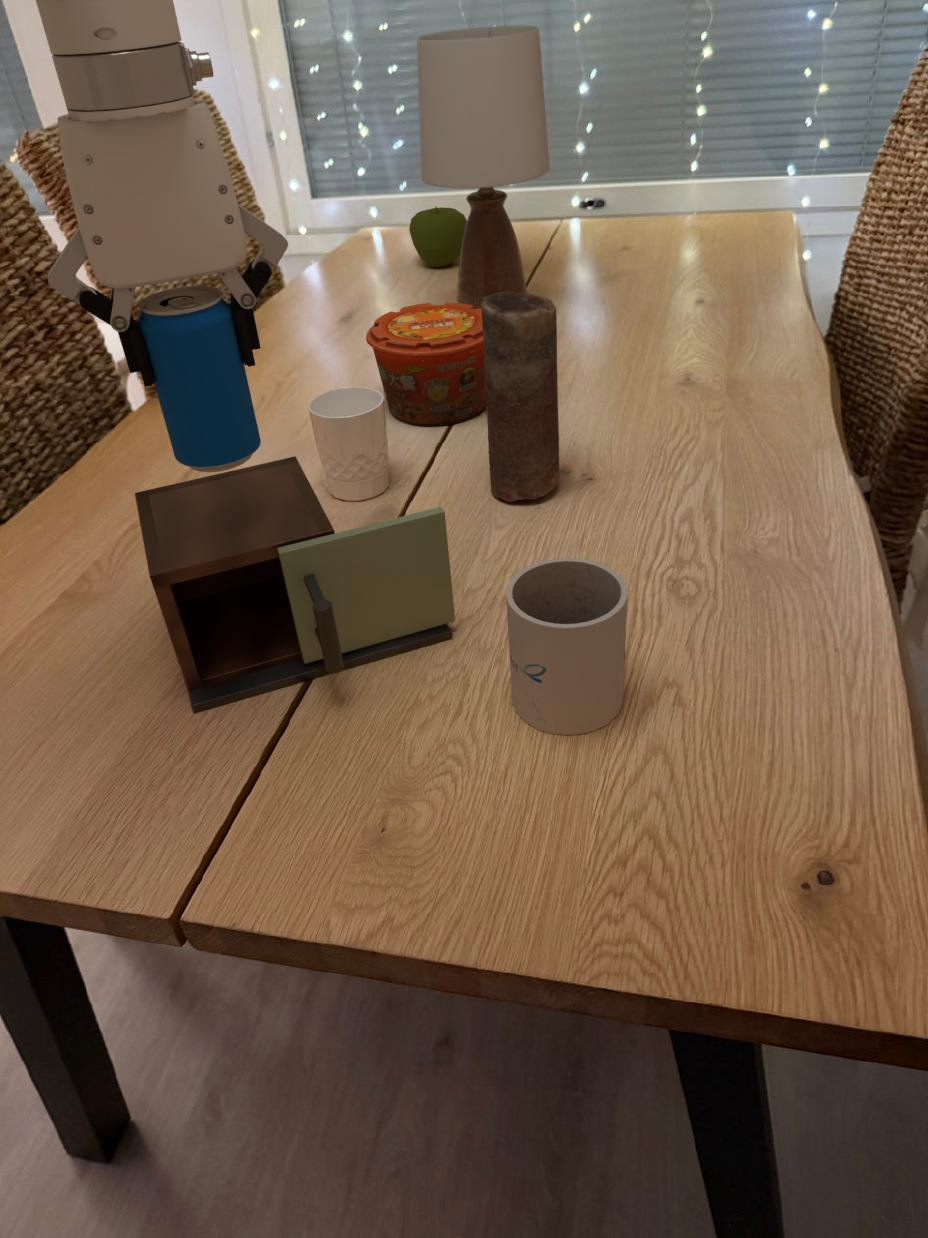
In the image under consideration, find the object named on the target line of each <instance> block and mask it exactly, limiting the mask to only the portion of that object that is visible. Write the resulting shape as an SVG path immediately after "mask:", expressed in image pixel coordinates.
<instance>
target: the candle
mask: <svg viewBox="0 0 928 1238" xmlns="http://www.w3.org/2000/svg"><path fill="white" fill-rule="evenodd" d="M481 309H482V327H483V342H484V364H485V382H486V403H487V407H486V421H487V440H488V463H489V479H490V492H491V495H493V497H495V498H498V499H501V500H503V501H505V502H509V503H511V502H516V501H518V500H519V501H522V500H537V499H539V498H541V497H544V496H546V495H547V494H548V493H550V492H552V491H553V490H554V488H556V487H555V486H556V485H557V484H558V482H559V481H560V432H559V431H560V429H559V428H560V427H559V425H560V423H559V401H558V400H559V387H558V327H557V326H558V323H557V321H558V319H557V318H558V317H557V308H556V306H555V303H554V302H553V300H551V299H550V298H548V297H547V296H544V295H534V294H529V293H527V294H520V293H514V292H500V293H497V294H493V295H490V296H487V297H484V298H483V301H482V304H481Z"/></svg>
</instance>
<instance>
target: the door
mask: <svg viewBox="0 0 928 1238" xmlns="http://www.w3.org/2000/svg"><path fill="white" fill-rule="evenodd" d="M447 534H448V532H447V521H446V512H445V511H444V509H443V508H442V507H441V506H439V507H433V508H430V509H426V510H422V511H419V512H415V513H410V514H407V515H403V516H398V517H395V518H391V519H388V520H387V519H386V520H382V521H378V522H375V523H371V524H368V525H367V524H366V525H363V526H359V527H355V528H350V529H347V530H343V531H340V532H339V531H338V532H336V533H335V534H331V535H327V536H323V537H319V538H315V539H311V540H307V541H303V542H299V543H295V544H291V545H287V546H283V547H279V548H277V550H278V554H279V558H280V563H281V567H282V571H283V576H284V580H285V585H286V589H287V593H288V598H289V602H290V606H291V611H292V615H293V619H294V624H295V628H296V633H297V637H298V641H299V646H300V650H301V654H302V658H303V661H304V663H305V664H307V663H310V662H314V661H317V660H321V659H324V663H325V668H326V671H327V672H329V673H330V674H337V673H340V672H342V671H343V670H342V669H343V667H344V664H343V659H342V653H345V652H349V651H352V650H356V649H359V648H363V647H366V646H370V645H373V644H377V643H380V642H384V641H387V640H391V639H394V638H398V637H401V636H405V635H408V634H412V633H415V632H419V631H422V630H426V629H429V628H433V627H437V626H440V625H444V624H450V623H453V622H456V616H455V604H454V603H455V602H454V594H453V583H452V574H451V573H452V572H451V563H450V554H449V543H448V535H447Z"/></svg>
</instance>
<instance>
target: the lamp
mask: <svg viewBox="0 0 928 1238" xmlns="http://www.w3.org/2000/svg"><path fill="white" fill-rule="evenodd" d="M540 37H541V36H540V27H538V26H537V25H528V24H527V25H526V24H525V25H524V24H520V25H519V24H518V25H517V24H514V25H494V26H493V25H492V26H478V27H468V28H467V27H466V28H459V29H451V30H444V31H438V32H437V31H435V32H432V33H426V34H422V35H419V36H418V37H416V48H417V49H416V52H417V53H416V54H417V76H418V77H417V79H418V80H417V82H418V111H419V112H418V113H419V114H418V115H419V137H420V138H419V140H420V142H419V143H420V162H421V163H420V169H421V170H420V171H421V172H420V173H421V180H422V182H423V183H425V184H427V185H429V186H433V187H437V188H447V189H477V190H476V191H473V192H471V193H469V194H467V196H466V198H465V200H466V201H467V203H468V205H469V207H470V212H469V214H468V217H467V219H466V220H467V223H466V226H465V230H464V234H463V238H462V244H461V251H460V257H459V262H458V273H457V274H458V275H457V279H458V280H457V286H456V287H457V297H456V298H457V299H456V303H463V304H469V305H472V306H473V308H474V309H479V308H481V304H482V301H483V298H484V297H487V296H490V295H493V294H497V293H500V292H514V293H520V294H528V290H527V283H526V276H525V273H524V266H523V262H522V261H523V260H522V255H521V250H520V246H519V245H520V244H519V242H518V239H517V235H516V231H515V229H514V226H513V224H512V221H511V219H510V216H509V214H508V212H507V210H506V208H505V202H506V201H507V198H508V194H507V193H506V192H505V191H503V190H499V189H495V188H496V187H504V186H510V185H516V184H521V183H526V182H529V181H533V180H535V179H538V178H541V177H543V176H544V175H546V174H547V173H548V172H549V171H550V156H549V155H550V153H549V141H548V128H547V116H546V114H547V113H546V102H545V101H546V100H545V89H544V76H543V63H542V50H541V38H540Z"/></svg>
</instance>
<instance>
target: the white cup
mask: <svg viewBox="0 0 928 1238" xmlns="http://www.w3.org/2000/svg"><path fill="white" fill-rule="evenodd" d="M385 407H386V406H385V395H384V393H382V392H381V391H379V390H378V389H376V388H372V387H369V386H360V385H359V386H357V385H354V386H353V385H352V386H351V385H350V386H342V387H337V388H332V389H329V390H325V391H323V392H321V393H319V394H316V395H315V396H314V397H313V398H311V399H310V400H309V402H308V404H307V409H308V414H309V417H310V422H311V427H312V432H313V436H314V439H315V444H316V448H317V452H318V455H319V460H320V464H321V467H322V470H323V471H324V475H325V480H326V481H325V482H326V485H327V490H328V493H329V494H331V496H332V497H334V498H335V499H338V500H342V501H345V502H348V501H349V502H352V501H353V502H360V501H365V500H369V499H372V498H376V497H378V496H379V495H381V494H383V493H384V492H385V491H386V490H387V489H388V488H389V486H390V480H389V479H390V478H389V444H388V432H387V420H386V408H385Z"/></svg>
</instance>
